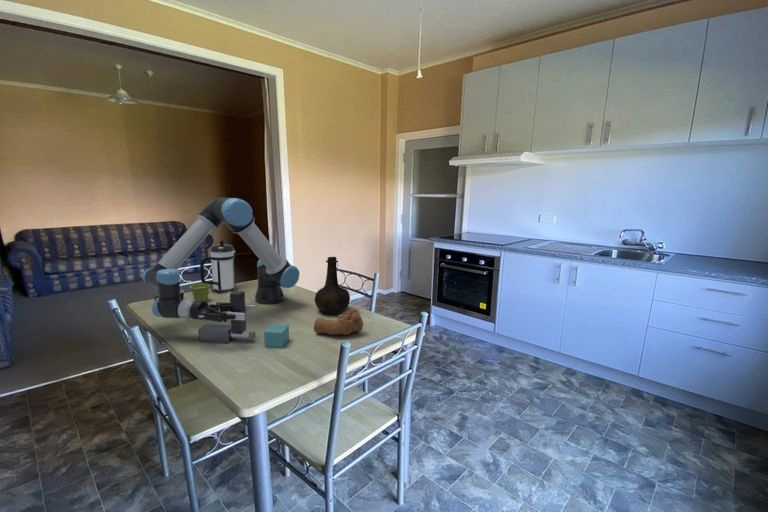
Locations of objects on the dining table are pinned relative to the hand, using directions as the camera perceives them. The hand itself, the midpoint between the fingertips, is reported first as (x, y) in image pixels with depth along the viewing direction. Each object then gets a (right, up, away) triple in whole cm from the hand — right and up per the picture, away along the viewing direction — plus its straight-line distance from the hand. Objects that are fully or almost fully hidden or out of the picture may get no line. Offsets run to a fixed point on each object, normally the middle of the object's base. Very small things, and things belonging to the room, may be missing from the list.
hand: (249, 312), depth 136 cm
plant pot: (-44, -2, +47) cm, 65 cm away
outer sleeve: (-14, -11, +3) cm, 18 cm away
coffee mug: (-49, -5, +31) cm, 58 cm away
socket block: (+10, -12, +2) cm, 16 cm away
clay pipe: (+34, -11, +14) cm, 39 cm away
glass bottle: (+27, -6, +40) cm, 48 cm away
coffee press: (-42, +2, +67) cm, 79 cm away
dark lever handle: (-9, -10, +2) cm, 14 cm away
